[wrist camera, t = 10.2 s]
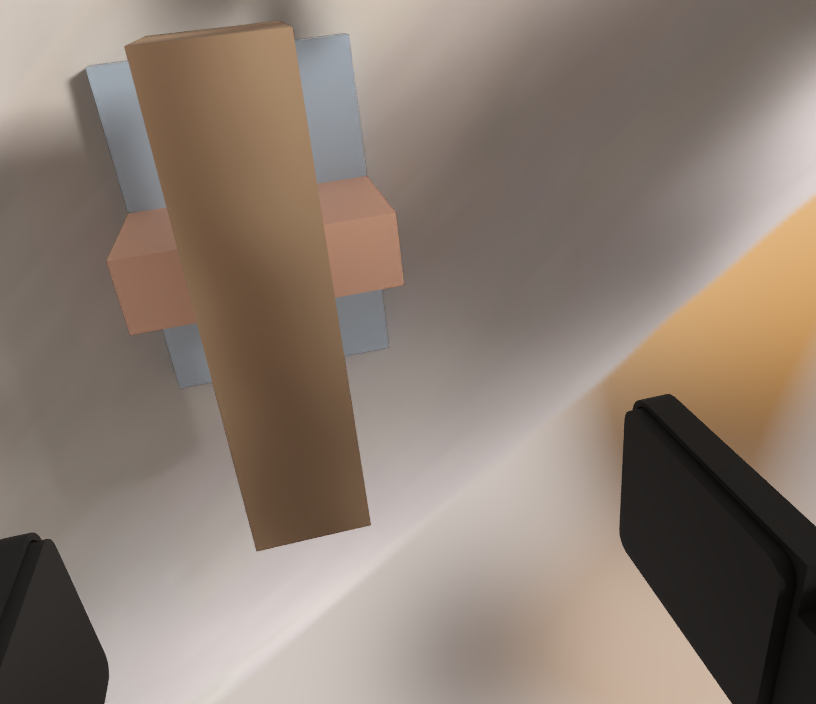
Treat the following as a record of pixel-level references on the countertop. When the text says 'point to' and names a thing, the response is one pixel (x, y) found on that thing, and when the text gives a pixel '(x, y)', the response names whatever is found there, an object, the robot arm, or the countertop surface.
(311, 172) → the walnut bar
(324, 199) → the fulcrum stand
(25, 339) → the countertop surface
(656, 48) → the countertop surface
